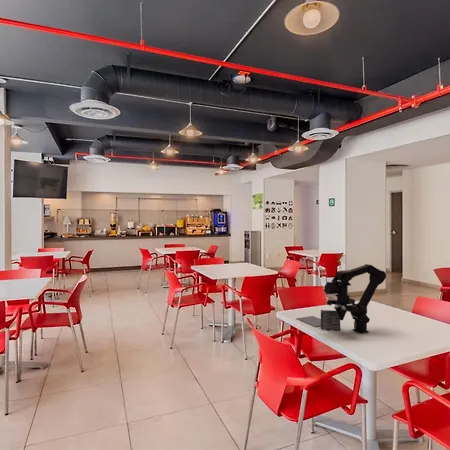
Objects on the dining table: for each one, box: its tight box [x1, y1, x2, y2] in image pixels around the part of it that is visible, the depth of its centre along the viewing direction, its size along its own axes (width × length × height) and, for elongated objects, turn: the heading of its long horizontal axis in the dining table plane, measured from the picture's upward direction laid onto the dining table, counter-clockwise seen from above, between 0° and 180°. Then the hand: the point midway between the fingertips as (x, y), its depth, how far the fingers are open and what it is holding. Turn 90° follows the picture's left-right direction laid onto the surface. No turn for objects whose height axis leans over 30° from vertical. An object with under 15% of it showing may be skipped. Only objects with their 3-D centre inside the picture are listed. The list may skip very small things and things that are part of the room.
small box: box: [320, 309, 341, 331], centre depth 197 cm, size 11×6×10 cm, turn 84°
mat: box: [295, 315, 321, 328], centre depth 210 cm, size 18×14×1 cm
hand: (341, 320), depth 189 cm, fingers closed
